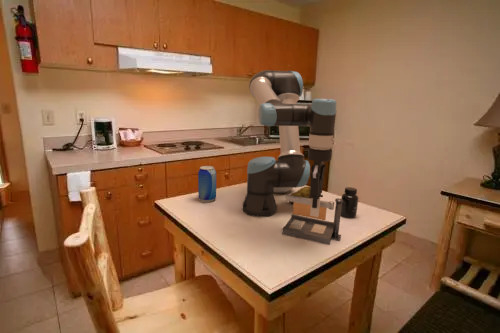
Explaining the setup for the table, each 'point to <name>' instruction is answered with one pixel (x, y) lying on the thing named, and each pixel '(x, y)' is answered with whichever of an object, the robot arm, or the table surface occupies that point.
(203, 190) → the beer can
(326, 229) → the metal plate with cutouts
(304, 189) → the potato
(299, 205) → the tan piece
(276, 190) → the cereal bowl
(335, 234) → the post
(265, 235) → the table surface
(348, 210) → the supplement bottle
